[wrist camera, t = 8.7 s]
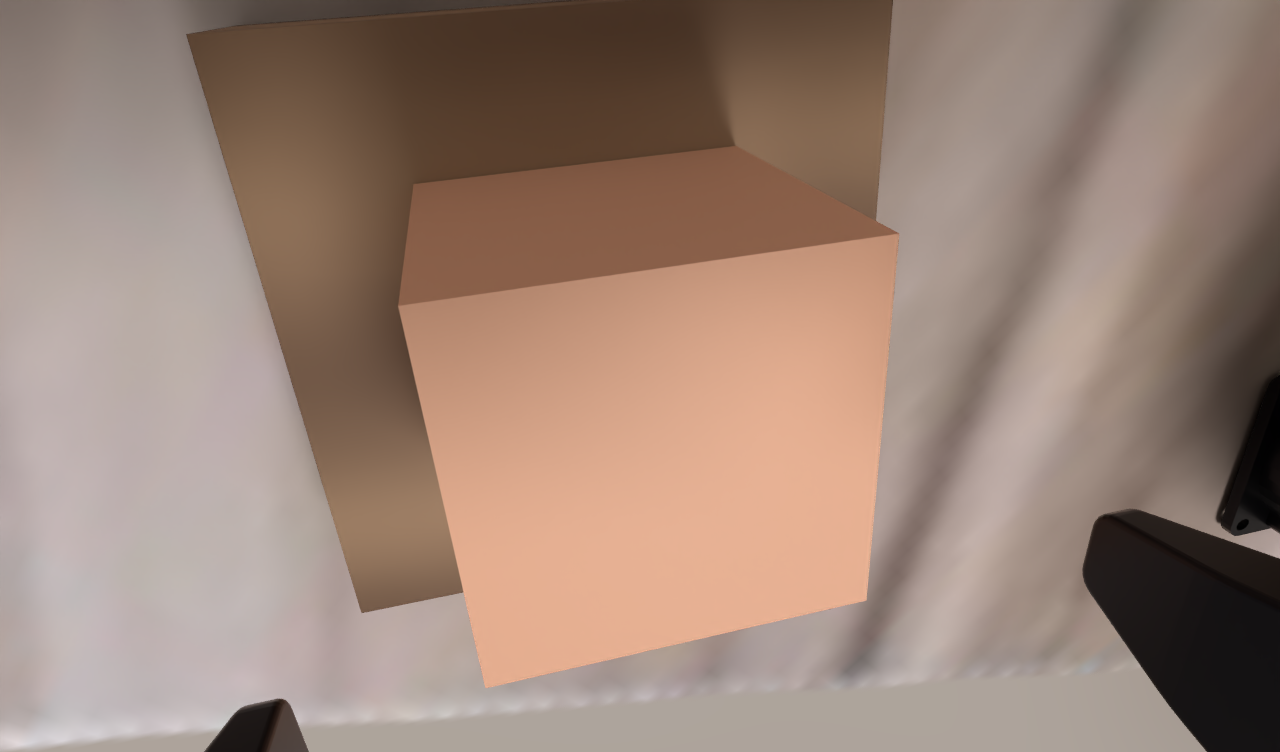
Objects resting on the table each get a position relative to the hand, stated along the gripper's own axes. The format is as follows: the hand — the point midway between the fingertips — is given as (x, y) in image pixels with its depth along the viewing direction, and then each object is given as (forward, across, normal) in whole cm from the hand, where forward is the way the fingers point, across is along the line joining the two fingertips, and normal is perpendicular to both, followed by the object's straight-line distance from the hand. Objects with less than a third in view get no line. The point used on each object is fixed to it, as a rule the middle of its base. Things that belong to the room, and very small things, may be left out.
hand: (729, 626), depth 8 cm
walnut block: (+12, 0, 0) cm, 13 cm away
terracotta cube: (+8, 0, 0) cm, 9 cm away
